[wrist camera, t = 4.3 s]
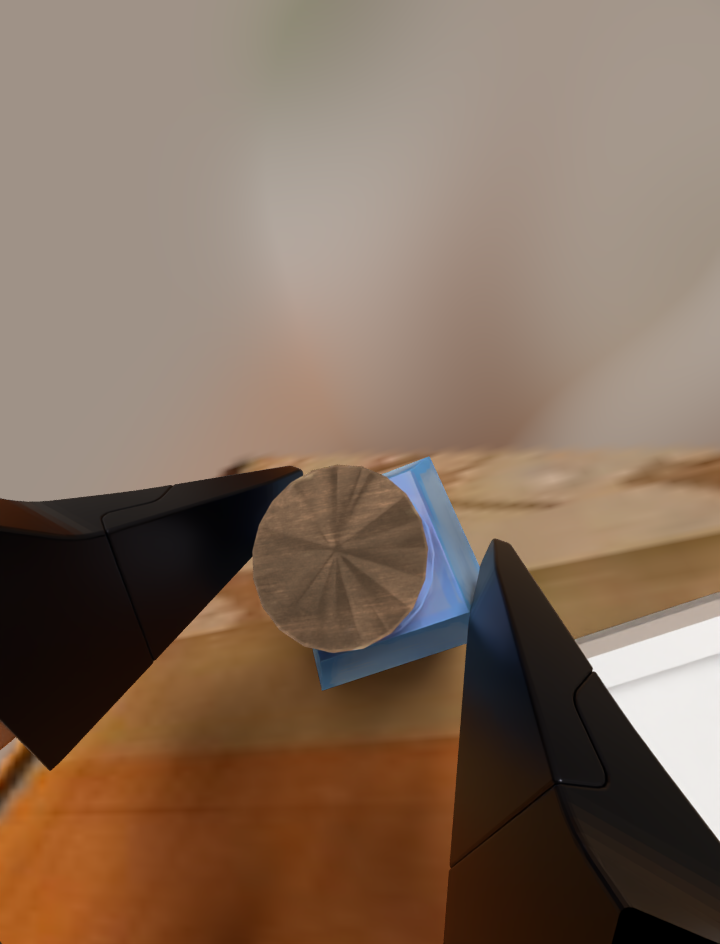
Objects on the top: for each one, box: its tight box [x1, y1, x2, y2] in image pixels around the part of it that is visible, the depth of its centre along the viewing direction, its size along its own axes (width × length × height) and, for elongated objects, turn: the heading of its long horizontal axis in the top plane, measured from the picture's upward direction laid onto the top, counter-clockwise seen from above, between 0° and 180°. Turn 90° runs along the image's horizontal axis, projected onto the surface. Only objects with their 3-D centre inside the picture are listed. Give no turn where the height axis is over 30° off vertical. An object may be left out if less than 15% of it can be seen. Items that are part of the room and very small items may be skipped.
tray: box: [574, 592, 720, 841], centre depth 12 cm, size 13×13×3 cm
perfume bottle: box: [252, 457, 480, 691], centre depth 11 cm, size 6×6×12 cm
